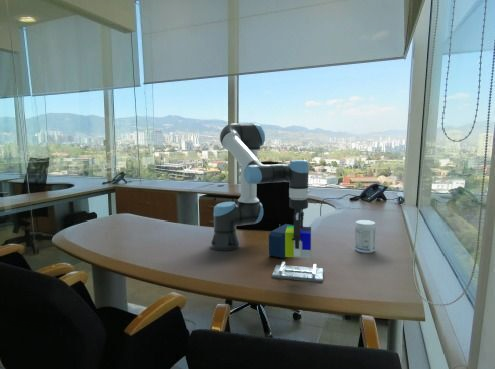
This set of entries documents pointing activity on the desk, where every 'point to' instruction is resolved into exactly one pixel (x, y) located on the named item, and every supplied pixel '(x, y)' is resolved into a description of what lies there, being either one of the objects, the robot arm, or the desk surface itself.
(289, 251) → the puzzle toy
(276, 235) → the radio
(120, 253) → the desk surface
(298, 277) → the rail plate
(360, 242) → the supplement tub
